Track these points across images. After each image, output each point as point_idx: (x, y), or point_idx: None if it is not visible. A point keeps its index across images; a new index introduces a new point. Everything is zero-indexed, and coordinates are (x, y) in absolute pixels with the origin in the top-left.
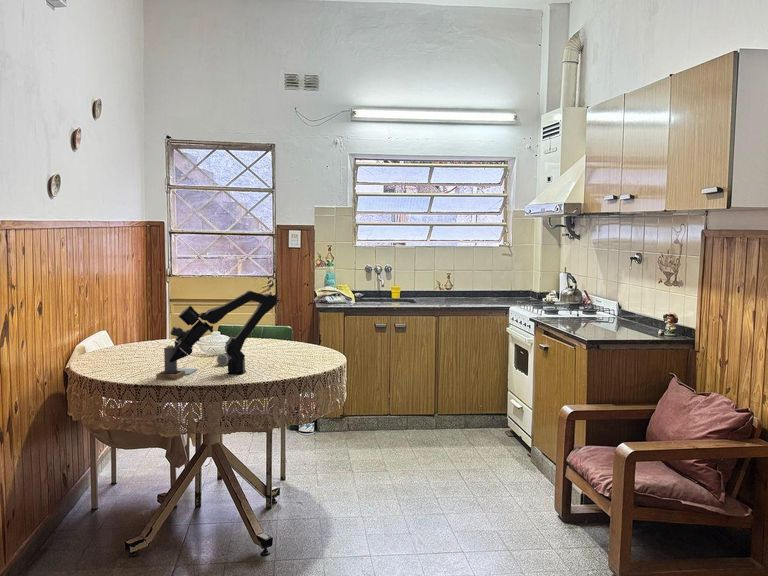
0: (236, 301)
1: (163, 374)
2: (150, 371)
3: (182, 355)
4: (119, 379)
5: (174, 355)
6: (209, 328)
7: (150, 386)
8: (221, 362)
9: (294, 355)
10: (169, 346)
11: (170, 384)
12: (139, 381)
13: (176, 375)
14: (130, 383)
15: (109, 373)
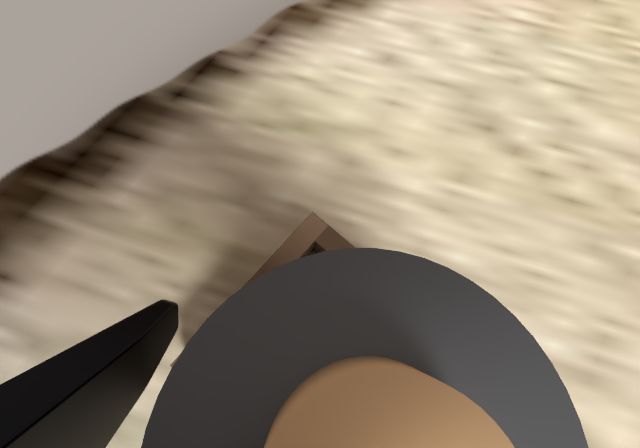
0: None
1: (273, 262)
2: (620, 275)
3: None
4: (431, 39)
5: (6, 398)
6: None
7: (109, 121)
8: None
9: None
10: (272, 432)
11: (64, 252)
12: (305, 111)
13: (176, 360)
14: (280, 55)
15: (637, 42)
